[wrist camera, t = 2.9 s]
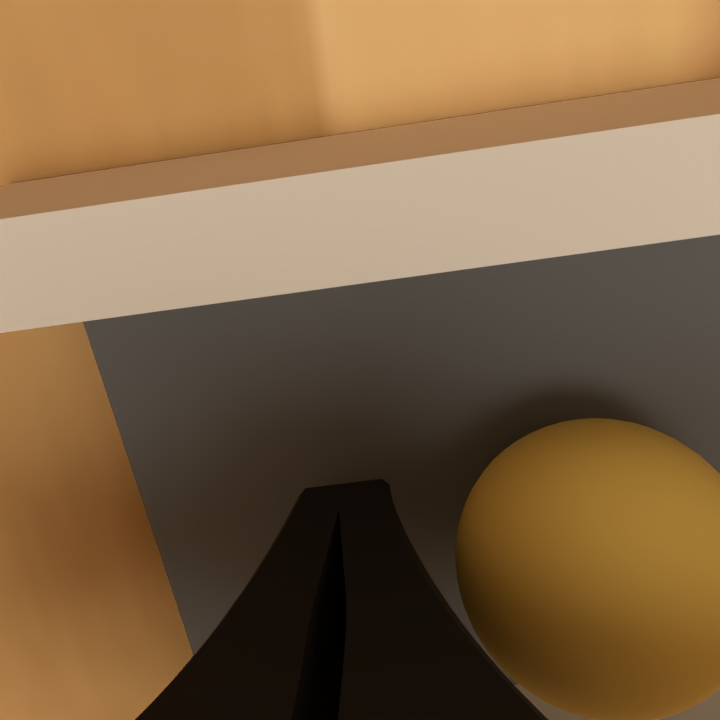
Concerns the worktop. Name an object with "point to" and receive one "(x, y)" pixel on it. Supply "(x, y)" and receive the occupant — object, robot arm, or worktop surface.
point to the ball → (597, 569)
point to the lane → (383, 314)
